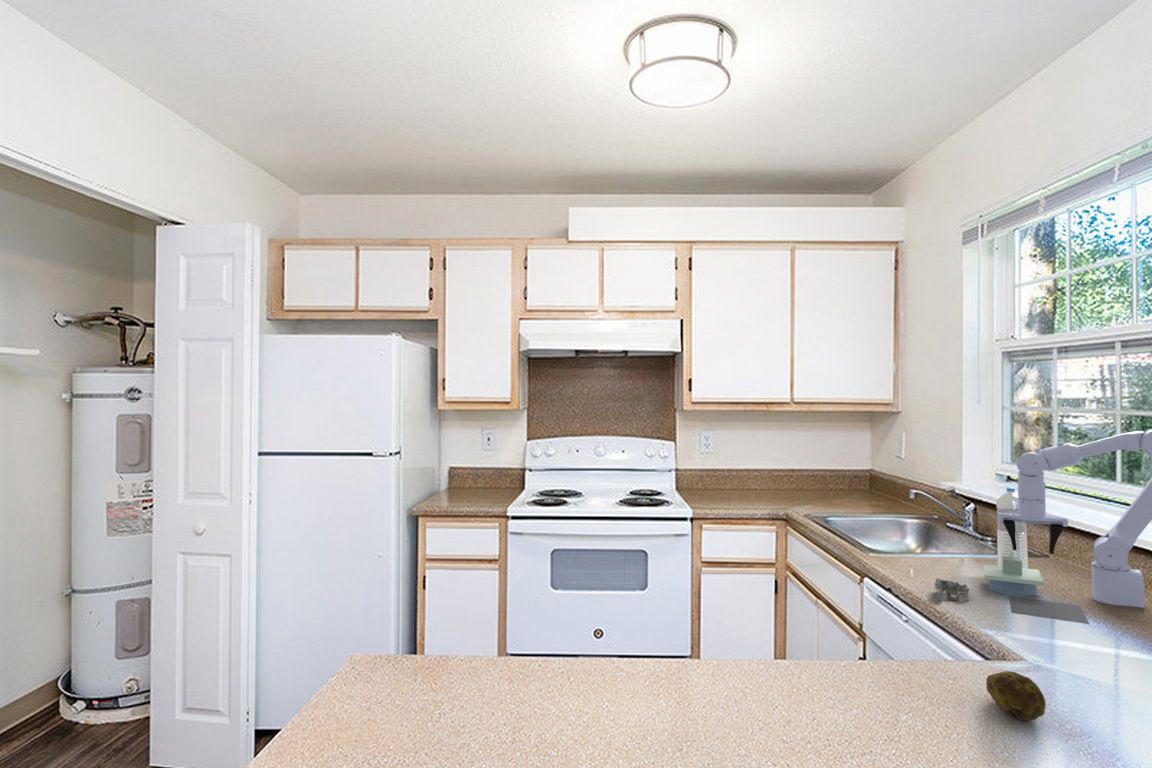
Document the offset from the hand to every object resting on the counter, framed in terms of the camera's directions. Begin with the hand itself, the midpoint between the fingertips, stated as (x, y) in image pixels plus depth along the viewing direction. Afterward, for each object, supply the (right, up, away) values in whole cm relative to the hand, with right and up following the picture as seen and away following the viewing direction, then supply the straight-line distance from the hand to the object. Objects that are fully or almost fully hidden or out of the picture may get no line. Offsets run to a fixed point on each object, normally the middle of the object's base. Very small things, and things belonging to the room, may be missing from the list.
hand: (1032, 551), depth 161 cm
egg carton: (-24, -11, -4) cm, 26 cm away
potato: (-48, -10, -62) cm, 79 cm away
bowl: (-6, -11, -1) cm, 12 cm away
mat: (-8, -10, -15) cm, 20 cm away
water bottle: (+3, -11, +12) cm, 17 cm away
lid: (-6, -6, -1) cm, 9 cm away
